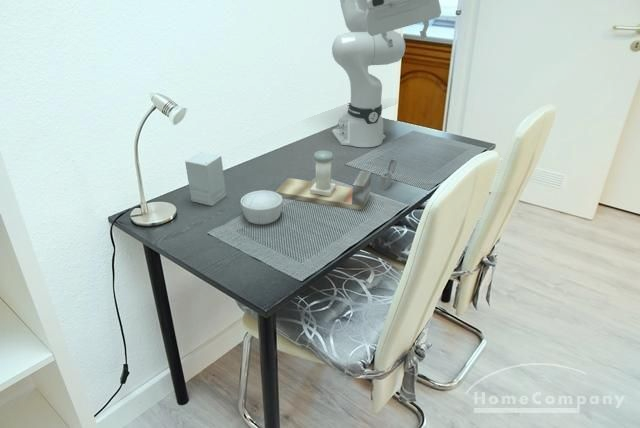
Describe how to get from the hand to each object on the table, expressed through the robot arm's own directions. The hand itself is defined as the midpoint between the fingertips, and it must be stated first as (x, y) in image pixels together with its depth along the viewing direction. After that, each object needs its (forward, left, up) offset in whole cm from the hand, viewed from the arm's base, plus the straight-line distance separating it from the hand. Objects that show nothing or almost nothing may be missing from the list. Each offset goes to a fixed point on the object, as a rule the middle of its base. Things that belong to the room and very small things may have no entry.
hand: (407, 42), depth 128 cm
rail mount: (+6, -29, -40) cm, 50 cm away
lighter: (+8, -8, -40) cm, 42 cm away
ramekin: (+10, -49, -40) cm, 64 cm away
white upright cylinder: (+6, -29, -38) cm, 48 cm away
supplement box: (-6, -60, -40) cm, 72 cm away
